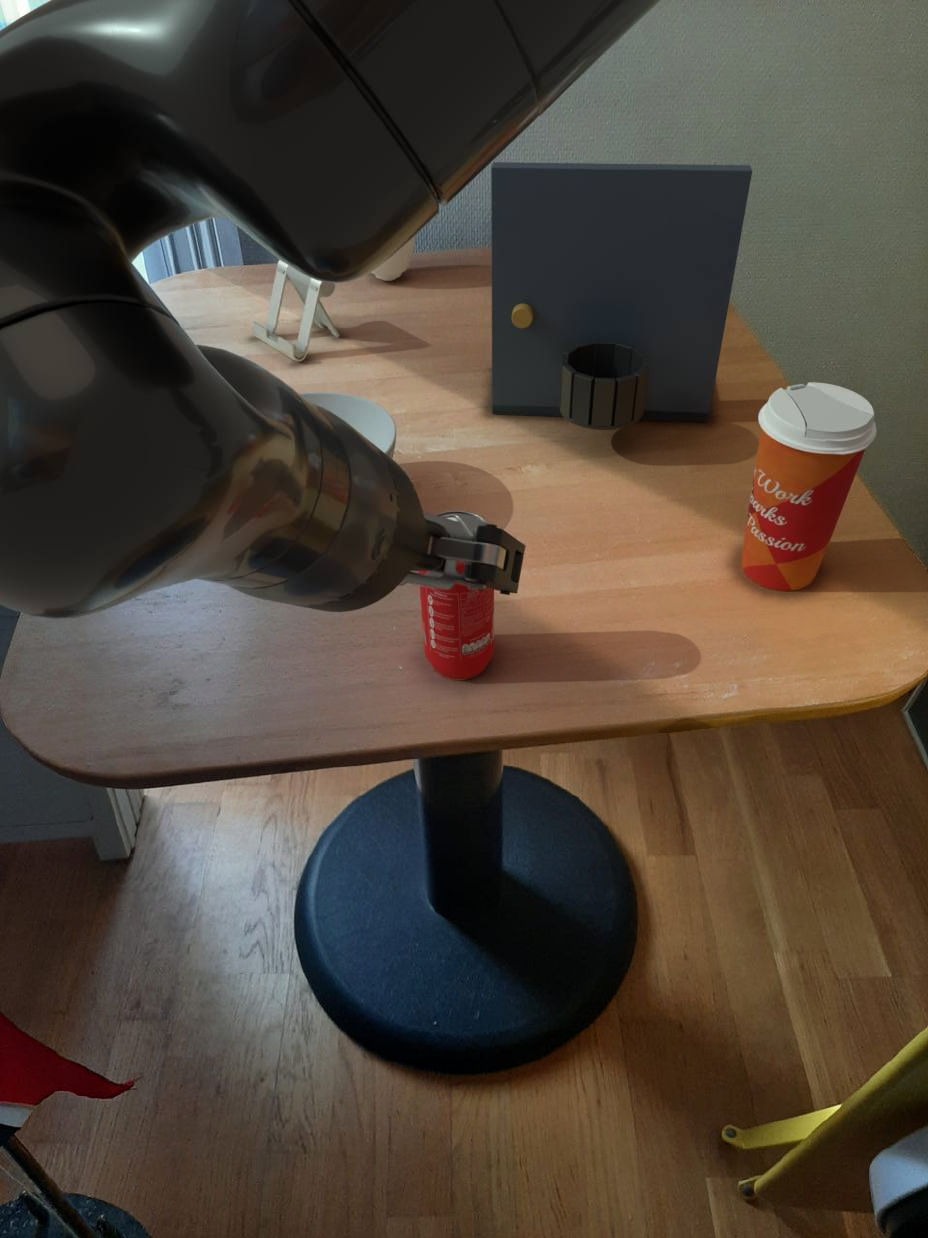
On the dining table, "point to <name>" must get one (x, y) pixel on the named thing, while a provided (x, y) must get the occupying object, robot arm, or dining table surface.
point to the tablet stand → (312, 313)
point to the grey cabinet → (611, 288)
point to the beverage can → (458, 620)
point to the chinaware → (360, 417)
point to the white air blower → (396, 263)
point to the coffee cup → (802, 480)
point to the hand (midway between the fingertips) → (411, 559)
